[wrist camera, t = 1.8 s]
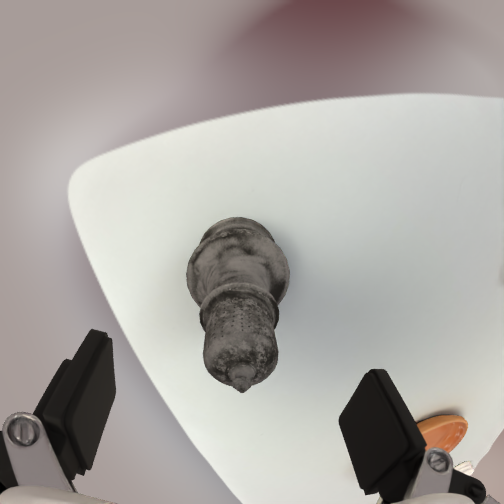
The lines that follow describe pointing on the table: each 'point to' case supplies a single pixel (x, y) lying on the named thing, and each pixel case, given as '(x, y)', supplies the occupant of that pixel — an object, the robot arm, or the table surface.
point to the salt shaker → (238, 300)
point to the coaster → (465, 468)
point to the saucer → (443, 431)
